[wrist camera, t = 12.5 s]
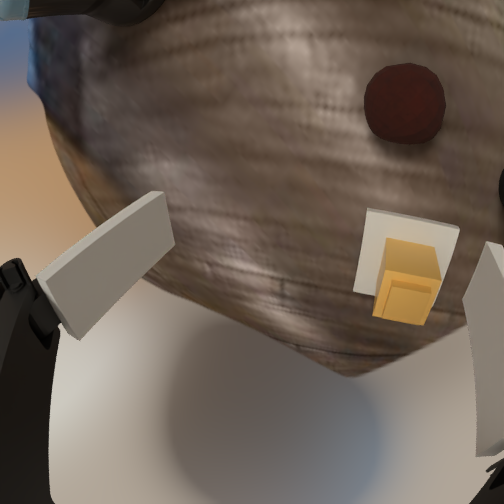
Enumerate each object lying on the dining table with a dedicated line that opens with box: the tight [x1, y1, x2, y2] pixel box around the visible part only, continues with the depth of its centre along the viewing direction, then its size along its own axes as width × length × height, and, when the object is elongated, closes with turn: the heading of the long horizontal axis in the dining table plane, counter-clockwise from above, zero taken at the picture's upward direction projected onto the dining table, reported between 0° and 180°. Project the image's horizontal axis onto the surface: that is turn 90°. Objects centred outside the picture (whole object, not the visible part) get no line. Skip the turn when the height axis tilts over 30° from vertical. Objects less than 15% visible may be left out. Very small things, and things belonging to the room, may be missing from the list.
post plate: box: [353, 208, 460, 307], centre depth 32 cm, size 12×12×6 cm
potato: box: [364, 63, 446, 145], centre depth 22 cm, size 8×9×8 cm
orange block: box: [372, 237, 442, 325], centre depth 30 cm, size 6×6×8 cm
